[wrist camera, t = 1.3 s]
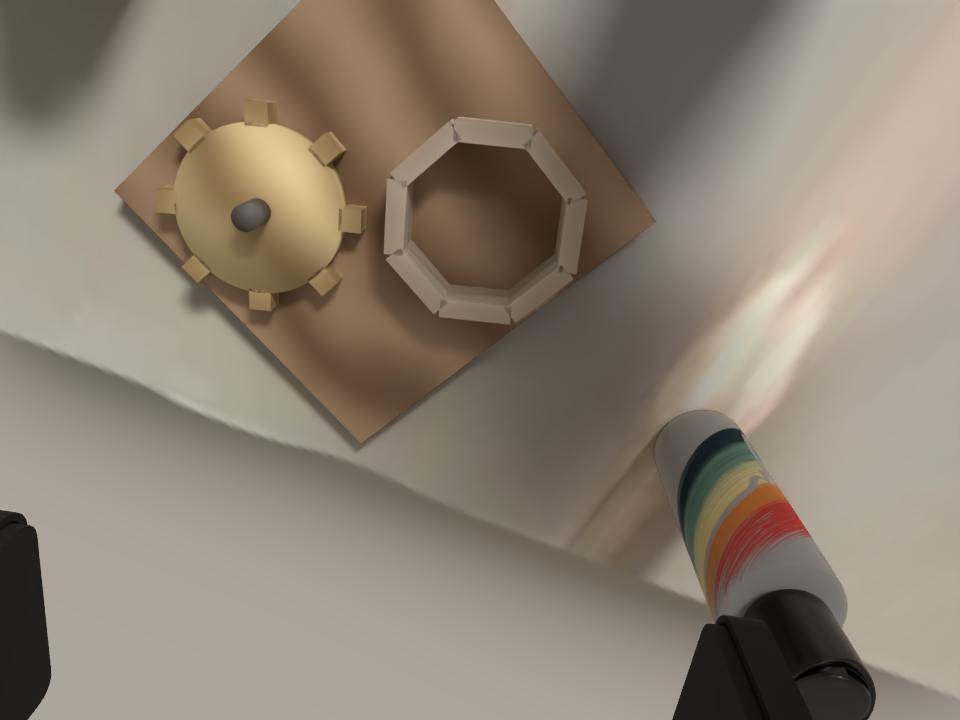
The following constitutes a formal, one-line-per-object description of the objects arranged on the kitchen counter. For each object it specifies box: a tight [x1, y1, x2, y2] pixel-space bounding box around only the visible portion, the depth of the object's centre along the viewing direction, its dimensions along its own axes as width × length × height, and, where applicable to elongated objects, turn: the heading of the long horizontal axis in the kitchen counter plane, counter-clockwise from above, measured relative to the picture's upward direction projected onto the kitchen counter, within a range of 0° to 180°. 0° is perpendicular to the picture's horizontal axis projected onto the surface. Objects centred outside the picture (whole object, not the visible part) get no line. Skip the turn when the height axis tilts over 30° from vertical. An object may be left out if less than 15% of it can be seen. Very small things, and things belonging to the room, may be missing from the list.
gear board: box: [114, 0, 656, 443], centre depth 37 cm, size 22×20×5 cm
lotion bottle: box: [655, 410, 876, 720], centre depth 35 cm, size 6×6×20 cm
